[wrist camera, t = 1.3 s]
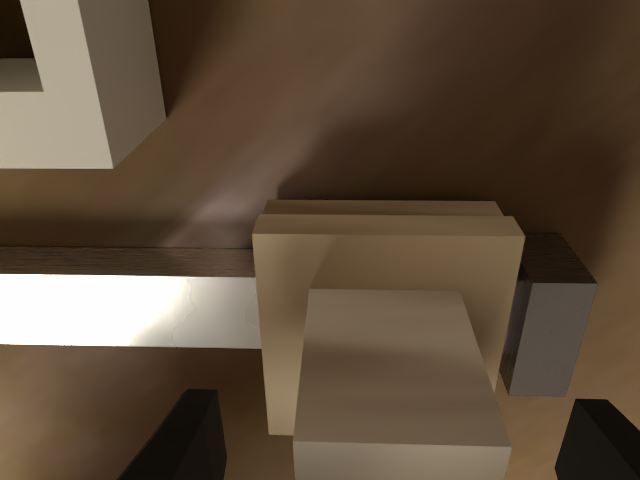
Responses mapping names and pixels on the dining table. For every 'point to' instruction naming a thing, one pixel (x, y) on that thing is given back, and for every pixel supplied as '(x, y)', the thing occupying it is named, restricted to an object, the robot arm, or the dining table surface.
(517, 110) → the dining table surface
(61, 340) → the gray block handle
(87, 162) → the frame
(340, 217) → the carriage
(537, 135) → the dining table surface
